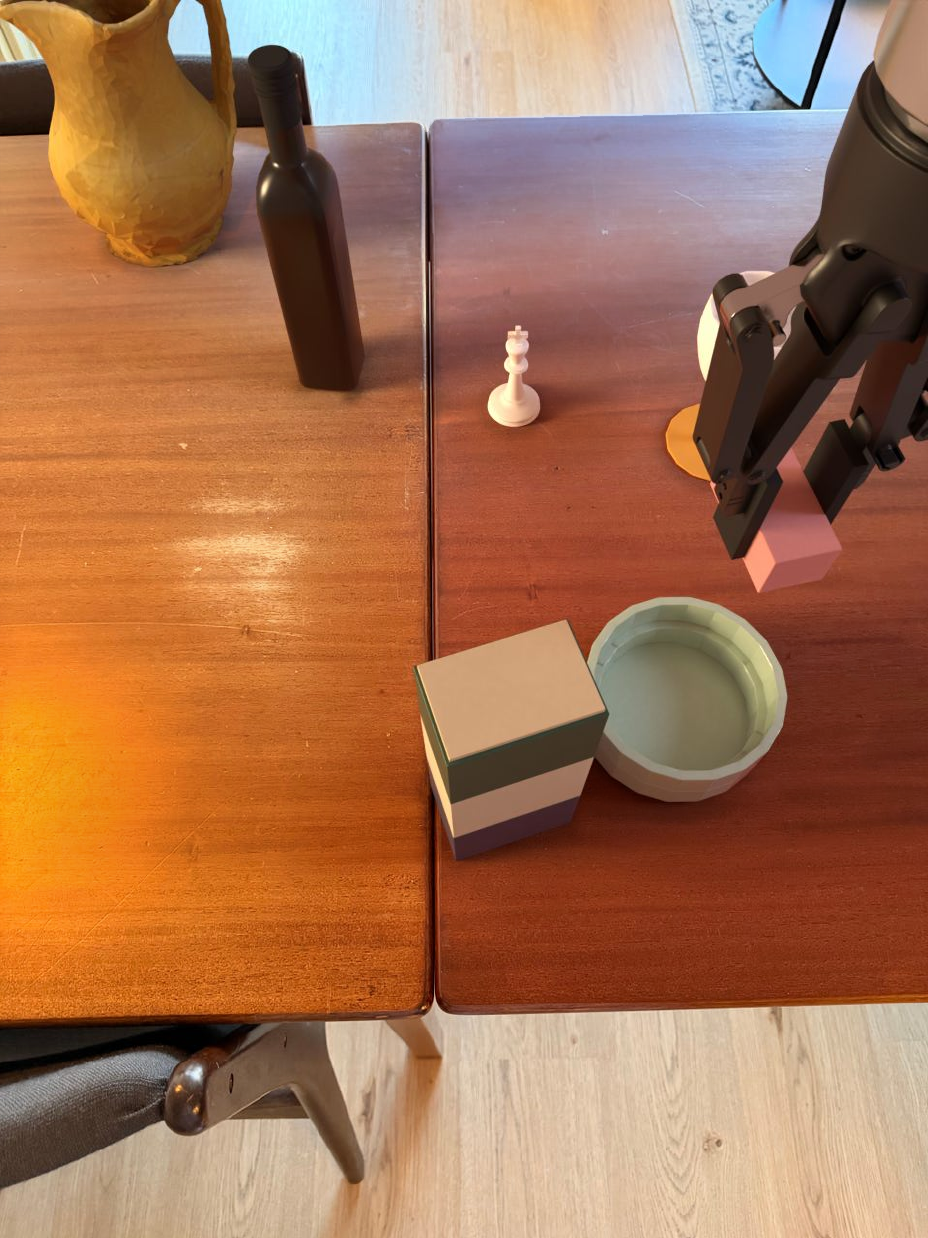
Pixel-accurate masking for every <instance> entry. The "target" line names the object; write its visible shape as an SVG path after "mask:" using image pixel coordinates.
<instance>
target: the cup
mask: <svg viewBox="0 0 928 1238" xmlns="http://www.w3.org/2000/svg"><path fill="white" fill-rule="evenodd" d="M775 273H776V272H773V271H770V270H746V271H742V272H738V274H741V275H743V277H744V279H745V281H746V283H747V284H748V286H750V285H752V284H754V283H756V282H758V281H760V280H762V279H764V278H766V277H768V276H770V275H772V274H775ZM795 308H796V307H795ZM795 308H794V309H793V310H792V311H791V312H790V314H789V315H788V318H787V322H786V325H785V326H784V328H783V331H784V333H785V334H786V340H787V338H788V337H789V335H790V333H791V316H792V313H793V311H794V310H795ZM719 324H720V322H719V318H718V314H717V310H716V306H715V303H714V299H713V295H712V293H711V294H710V296H709V298H708V301H707V302H706V304H705V307H704V309H703V312H702V314H701V316H700V319H699V325H698V330H697V337H696V343H697V357H698V362H699V368H700V371H701V374H702V377H703V380H704V382H706V378H707V374H708V370H709V366H710V362H711V357H712V353H713V349H714V345H715V341H716V337H717V333H718V328H719ZM786 340H785V341H784V343H785V342H786ZM784 343H783V344H781V345H779V346H776V347H774V359H775V358H776V356H777V355H778V353H779V351H780V350H781V348H782V346H783V345H784ZM700 403H701V402H700ZM700 403H696V404H694V405H691V406H688V407H685V408H683V409H682V410H680V411H679V412H678V413H677V414H676V415H675V416H674V417H673V418H671V419H670V422H669V425H668V427H667V430H666V432H665V439H666V448H667V451H668V453H669V454H670V456H671V457H672V459H673V460H674V462H675V464H676V465H677V466H679V467H680V468H681V469H683V470H684V471H686V472H687V473H688V474H689V475H691V476H693V477H695V478H699V479H703V480H705V481H708V482H711V479H710V477H709V474H708V472H707V470H706V468H705V465H704V463H703V461H702V459H701V456H700V454H699V452H698V450H697V447H696V445H695V443H694V441H693V432H694V428H695V424H696V420H697V416H698V411H699V407H700Z"/></svg>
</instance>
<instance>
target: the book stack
mask: <svg viewBox="0 0 928 1238" xmlns="http://www.w3.org/2000/svg"><path fill="white" fill-rule="evenodd" d="M563 620H567V622H568V624H569V626H570V629H571V631H572V633H573V636H574V638H575V640H576V642H577V645H578V647H579V649H580V652H581V654H582V656H583V658H584V661H585V663H586V665H587V668H588V670H589V672H590V674H591V677H592V679H593V681H594V684H595V686H596V688H597V690H598V693H599V695H600V697H601V700H602V702H603V704H604V707H605V712H602V713H599V714H596V715H593V716H590V717H587V718H584V719H581V720H578V721H575V722H572V723H569V724H566V725H562V726H559V727H556V728H553V729H550V730H547V731H544V732H541V733H538V734H535V735H532V736H529V737H526V738H523V739H519V740H516V741H513V742H510V743H507V744H504V745H501V746H498V747H495V748H492V749H489V750H486V751H483V752H480V753H476V754H473V755H470V756H467V757H464V758H461V759H458V760H455V761H452V762H449V759H448V756H447V753H446V750H445V748H444V745H443V742H442V739H441V736H440V733H439V730H438V727H437V724H436V721H435V718H434V715H433V712H432V709H431V706H430V704H429V701H428V698H427V695H426V692H425V689H424V686H423V683H422V680H421V677H420V674H419V671H418V668H417V665H420V664H423V663H427V662H430V661H433V660H436V659H439V658H440V657H439V658H435V659H432V660H428V661H426V662H422V663H419V664H416V665H413V666H412V670H413V677H414V683H415V689H416V695H417V702H418V709H419V715H420V723H421V729H422V735H423V742H424V749H425V755H426V762H427V769H428V774H429V781H430V787H431V791H432V794H433V796H434V799H435V802H436V805H437V808H438V812H439V814H440V817H441V821H442V824H443V827H444V830H445V833H446V836H447V840H448V842H449V845H450V848H451V852H452V855H453V857H454V861H455V862H458V861H459V862H460V861H461V860H464V859H467V858H470V857H473V856H476V855H478V854H479V855H480V854H482V853H485V852H488V851H491V850H494V849H497V848H499V847H502V846H505V845H509V844H511V843H514V842H517V841H520V840H522V839H523V840H524V839H526V838H529V837H532V836H535V835H537V834H540V833H543V832H546V831H550V830H553V829H555V828H558V827H560V826H564V825H566V824H567V825H568V824H569V823H571V822H572V820H573V817H574V814H575V811H576V810H577V809H576V808H577V805H578V803H579V800H580V798H581V795H582V792H583V789H584V786H585V783H586V780H587V778H588V775H589V772H590V769H591V766H592V764H593V761H594V758H595V757H594V756H595V753H596V750H597V748H598V745H599V742H600V739H601V737H602V734H603V731H604V728H605V725H606V723H607V720H608V717H609V712H608V709H607V707H606V705H605V702H604V700H603V698H602V696H601V693H600V691H599V689H598V686H597V684H596V682H595V680H594V677H593V675H592V673H591V670H590V668H589V666H588V664H587V662H588V660H587V659H586V657H585V655H584V652H583V650H582V648H581V645H580V643H579V641H578V638H577V636H576V635H575V632H574V629H573V627H572V625H571V623H570V621H569V619H568V618H565V619H562V620H561V621H563ZM559 621H560V620H558V621H555V622H551V623H548V625H550V624H553V623H556V622H559ZM546 625H547V624H546ZM546 625H542V626H539V627H536V628H532V629H529V630H526V631H523V632H520V633H519V634H521V633H524V632H527V631H530V630H534V629H537V628H540V627H543V626H546ZM517 634H518V633H517ZM517 634H514V635H517ZM514 635H511V636H514ZM511 636H506V638H508V637H511ZM504 638H505V637H503V638H500V639H497V640H494V641H493V642H495V641H498V640H501V639H504ZM491 642H492V641H490V642H487V643H484V644H481V645H480V646H482V645H485V644H488V643H491ZM478 646H479V645H478ZM478 646H475V647H478ZM475 647H472V648H475ZM472 648H467V650H469V649H472ZM465 650H466V649H465ZM465 650H461V651H458V652H455V653H454V654H456V653H459V652H462V651H465ZM452 654H453V653H452ZM452 654H448V655H445V656H442V657H441V658H443V657H446V656H449V655H452Z"/></svg>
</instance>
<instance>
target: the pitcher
mask: <svg viewBox="0 0 928 1238" xmlns="http://www.w3.org/2000/svg"><path fill="white" fill-rule="evenodd" d="M181 1H182V0H0V19H2V20H3V21H5V22H6V23H8V24H10V25H12V26H13V27H15V28H16V29H17V30H19V31H20V33H22V34H23V35H24V36H25V37H26V38H27V39H28V40H30V42H31V43H32V44H33V45H34V47H35V48H36V49H37V51H38V53H39V54H40V56H41V58H42V59H43V61H44V63H45V65H46V68H47V70H48V73H49V75H50V78H51V81H52V85H53V89H54V105H53V106H54V108H53V112H52V117H51V122H50V126H49V127H50V128H49V134H48V138H49V139H48V153H47V155H48V160H49V166H50V170H51V173H52V177H53V179H54V181H55V183H56V186H57V187H58V190H59V192H60V195H61V197H62V199H64V200H65V201H66V202H67V204H68V206H69V208H70V209H71V210H72V212H73V213H74V214H75V215H76V216H77V217H78V218H79V219H80V220H81V221H82V222H85V223H87V224H88V225H91V226H92V227H94V228H95V229H96V230H99V231H100V232H101V233H104V234H105V238H104V240H105V242H106V243H105V245H106V247H107V249H108V251H109V253H110V254H112V255H114V256H115V257H118V258H121V259H122V260H123V261H126V263H127V262H128V263H132V264H135V265H140V266H141V265H142V266H144V267H148V268H153V267H157V268H158V267H162V266H174V265H175V264H176V265H183V264H184V263H187V262H193V261H194V260H196V259H197V258H198V257H199V256H201V255H202V254H203V253H206V252H207V251H208V249H209V248H211V247H212V245H215V244H216V241H217V239H218V237H219V235H220V233H221V231H222V227H223V225H224V221H223V220H224V217H223V214H224V213H225V211H226V209H227V205H228V203H229V199H230V195H231V192H232V188H233V175H232V172H233V168H234V163H235V157H234V148H235V138H236V135H237V133H238V127H237V125H238V120H237V111H236V104H235V99H234V93H235V87H236V84H235V80H234V75H233V54H232V49H231V41H230V35H229V29H228V25H227V17H226V15H225V11H224V6H223V2H222V0H195V1H196V2H197V3H198V4H200V5H201V6H202V9H203V13H204V18H205V21H206V25H207V35H208V40H209V49H210V63H211V64H210V65H211V66H210V67H211V81H212V94H213V99H207V98H206V97H205V96H204V95H203V94H202V93H201V92H200V91H199V90H197V88H196V87H195V86H194V84H192V83H191V81H189V80H188V78H187V77H186V76H185V74H184V73H183V71H182V69H181V68H180V66H179V65H178V64H179V63H177V61H176V58H175V55H174V53H173V49H172V47H171V45H170V42H169V29H170V21H171V19H172V18H173V16H174V14H175V12H176V9H177V7H178V6H179V4H180V2H181Z"/></svg>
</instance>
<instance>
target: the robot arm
mask: <svg viewBox="0 0 928 1238" xmlns="http://www.w3.org/2000/svg"><path fill="white" fill-rule="evenodd" d="M872 57H873V60H872V61H871V62H870V63H868V65H867V67H865V69H864V71H863V72H862V74H861V76H860V78H859V81H858V83H857V86H856V89H855V90H854V93H853V95H852V99H851V102H850V104H849V107H848V109H847V112H846V114H845V117H844V120H843V122H842V125H841V127H840V131H839V133H838V135H837V138H836V141H835V144H834V145H833V149H832V151H831V154H830V156H829V159H828V162H827V165H826V169H825V174H824V182H823V189H822V196H821V197H822V198H821V205H820V211H819V215H818V218H817V220H816V221H815V223H814V224H813V226H811V228H810V230H809V231H808V232H807V234H805V236H804V237H802V239H801V240H800V241H799V242H797V244H796V246H795V247H794V249H793V251H792V252H791V254H790V257H789V262H788V266H787V267H785V268H783V269H781V270H779V271H777V272H774V273H775V274H772V275H770V276H768V277H766V278H764V279H762V280H760V281H758V282H756V283H754V284H752V285H750V286H748V284H747V283H746V281H745V279H744V277H743V275H741V274H739V272H738V273H730V274H727V275H724V276H723V277H722V278H720V279H719V280H718V281H717V282H716V283H715V284H714V286H713V287H712V293H711V294H712V295H713V299H714V303H715V306H716V310H717V314H718V318H719V322H720V324H719V328H718V333H717V337H716V341H715V345H714V349H713V353H712V357H711V362H710V366H709V370H708V374H707V378H706V381H704V382H705V383H704V387H703V392H702V394H701V400H700V407H699V411H698V416H697V420H696V424H695V428H694V432H693V441H694V443H695V445H696V447H697V450H698V452H699V454H700V456H701V459H702V461H703V463H704V465H705V468H706V470H707V472H708V474H709V477H710V479H711V481H712V482H713V483H714V484H716V485H715V487H714V491H715V494H716V496H717V499H718V501H719V503H718V504H717V506H716V509H715V511H714V514H713V516H712V519H713V521H714V523H715V527H716V528H717V530H718V532H719V536H720V538H721V539H722V541H723V544H724V546H725V549H726V551H727V553H728V556H729V558H730V560H731V561H733V560H738V559H743V557H745V555H746V553H747V551H748V549H749V547H750V545H751V543H752V541H753V539H754V537H755V535H756V533H757V532H758V530H759V529H760V527H761V525H762V523H763V521H764V519H765V517H766V516H767V514H768V512H769V510H770V508H771V506H772V504H773V502H774V500H775V498H776V496H777V494H778V492H779V490H780V488H781V486H782V484H783V480H782V478H781V476H780V474H779V472H778V470H777V466H778V465H779V464H780V462H781V461H782V459H783V458H784V457H785V455H786V454H787V452H788V451H789V450H790V448H791V447H793V446H794V444H795V443H796V441H797V440H798V439H799V437H800V435H801V434H802V433H803V432H804V430H805V429H806V427H808V425H809V423H810V422H811V420H812V419H813V418H814V416H815V415H816V413H817V412H818V411H819V410H820V407H822V405H823V404H824V402H825V401H826V400H827V398H828V397H829V395H830V394H831V393H832V391H833V390H834V388H835V387H836V386H837V384H838V383H839V382H840V381H841V379H851V378H854V377H855V376H856V375H857V374H858V372H859V371H860V370H861V368H862V367H863V366H864V368H863V370H862V373H861V376H860V380H859V383H858V386H857V388H856V392H855V395H854V398H853V401H852V404H851V408H850V410H849V418H850V420H851V421H852V423H851V426H849V424H848V423H847V421H846V419H845V418H842V419H838V420H833V421H829V422H828V424H827V425H826V428H825V430H824V431H823V433H822V435H821V437H820V439H819V441H818V442H817V445H816V446H815V448H814V449H813V452H812V454H811V456H810V458H809V459H808V461H807V463H806V465H805V467H804V469H803V472H804V474H805V476H806V478H807V480H808V482H809V484H810V486H811V488H812V490H813V492H814V494H815V496H816V498H817V500H818V502H819V504H820V506H821V508H822V510H823V512H824V514H825V515H826V517H827V519H828V521H829V523H830V525H831V526H832V524H833V522H834V521H835V519H836V518H837V516H838V515H839V513H840V511H841V510H842V508H843V507H844V505H845V504H846V502H847V500H848V499H849V498H850V496H851V494H852V493H853V491H854V490H857V489H858V488H860V487H861V486H862V485H863V484H864V483H865V482H866V481H867V479H868V478H869V476H870V474H871V473H872V471H873V469H874V468H875V466H876V467H877V469H878V470H879V471H880V472H884V473H885V472H889V471H893V470H894V469H897V468H898V467H900V466H901V465H902V464H903V463H905V461H906V459H907V458H906V457H905V455H904V453H903V451H902V450H901V447H900V446H899V445H900V443H901V441H902V440H904V439H907V438H909V437H911V436H912V438H913V440H914V441H915V442H917V443H918V442H921V443H922V442H925V441H928V400H927V398H926V397H925V396H924V393H925V392H927V393H928V0H890V2H889V4H888V7H887V10H886V12H885V15H884V17H883V20H882V23H881V24H880V28H879V30H878V33H877V35H876V41H875V46H874V50H873V53H872ZM795 307H796V308H795ZM794 308H795V310H794V311H793V313H792V316H791V333H790V335H789V337H788V338H787V340H786V334H785V333H784V331H783V328H784V326H785V325H786V322H787V318H788V315H789V314H790V312H791V311H792V310H793V309H794ZM785 340H786V342H785V343H784V341H785ZM783 343H784V345H783V346H782V348H781V350H780V351H779V353H778V355H777V356H776V358H775V359H774V347H776V346H779V345H781V344H783ZM711 481H710V482H711ZM715 494H714V495H715ZM716 496H715V497H716ZM717 499H716V500H717ZM718 501H717V502H718Z"/></svg>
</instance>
